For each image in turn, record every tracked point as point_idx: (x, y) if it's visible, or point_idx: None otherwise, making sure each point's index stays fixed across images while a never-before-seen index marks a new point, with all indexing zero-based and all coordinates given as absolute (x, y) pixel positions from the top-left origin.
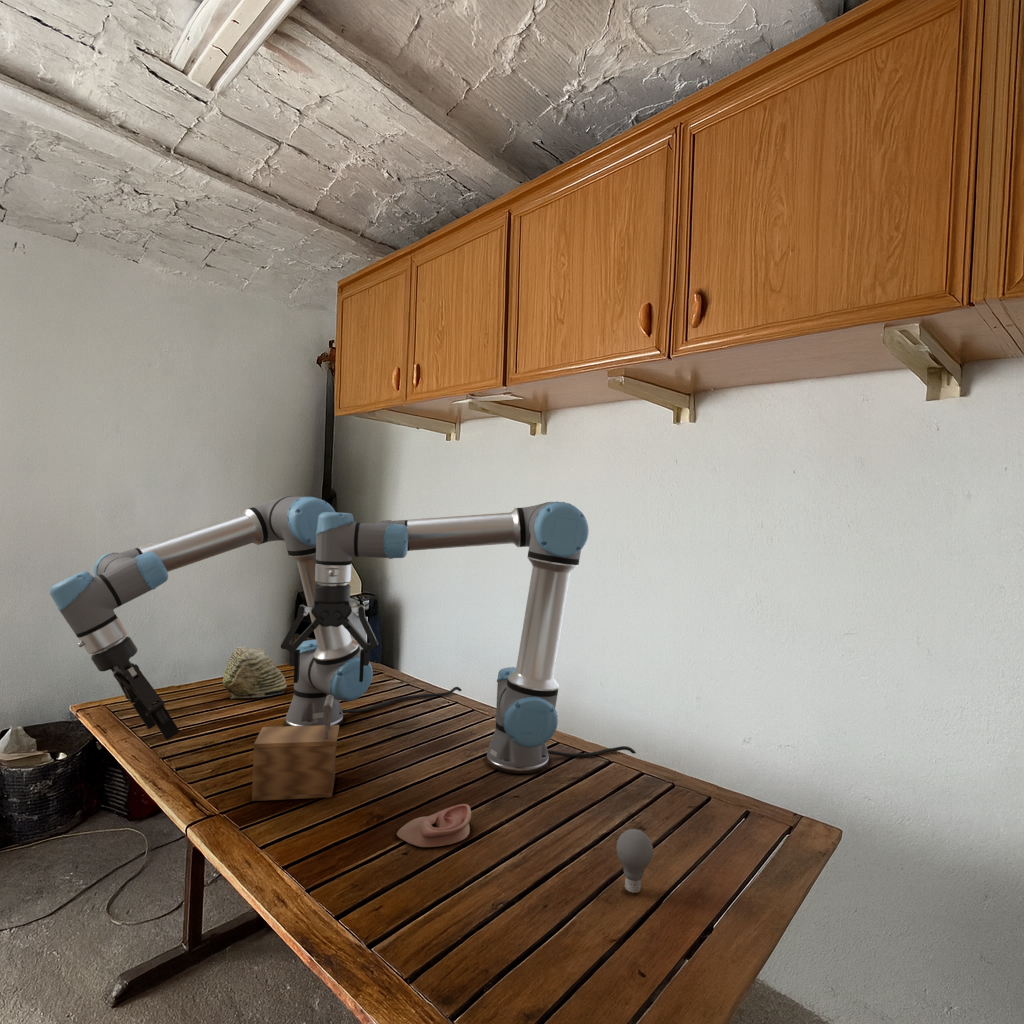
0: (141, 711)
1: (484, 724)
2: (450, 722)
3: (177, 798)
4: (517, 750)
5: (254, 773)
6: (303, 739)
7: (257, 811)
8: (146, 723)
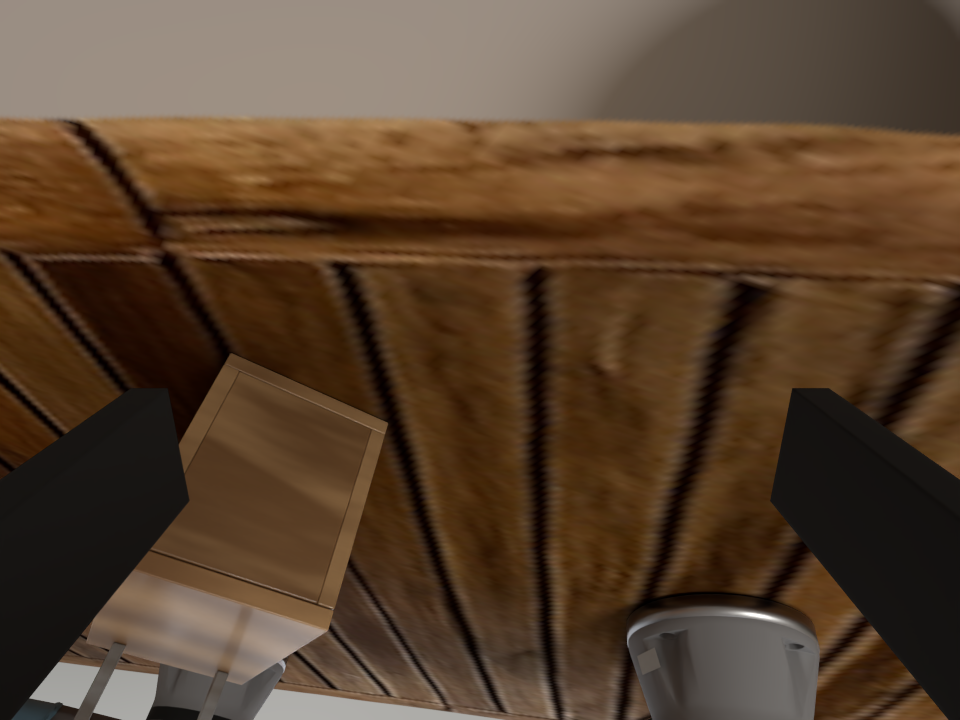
0: (933, 546)
1: (422, 690)
2: (471, 684)
3: (396, 179)
4: (162, 672)
5: (180, 442)
6: (122, 625)
7: (144, 334)
8: (830, 428)
